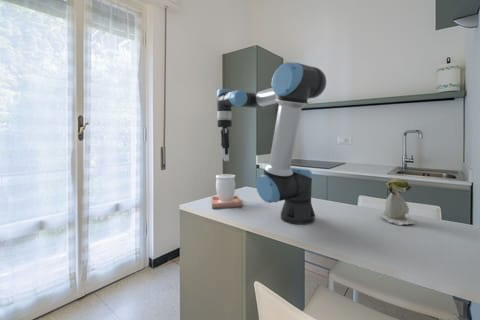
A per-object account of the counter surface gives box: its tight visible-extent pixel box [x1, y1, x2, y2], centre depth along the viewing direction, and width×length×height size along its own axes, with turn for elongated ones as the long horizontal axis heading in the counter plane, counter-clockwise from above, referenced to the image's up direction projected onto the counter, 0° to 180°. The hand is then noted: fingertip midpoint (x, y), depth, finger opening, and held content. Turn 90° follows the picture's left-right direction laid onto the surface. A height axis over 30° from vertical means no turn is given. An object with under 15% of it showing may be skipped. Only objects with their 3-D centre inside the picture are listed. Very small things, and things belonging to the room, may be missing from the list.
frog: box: [380, 178, 416, 227], centre depth 108 cm, size 12×13×18 cm
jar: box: [215, 173, 236, 203], centre depth 136 cm, size 11×10×15 cm
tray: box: [210, 194, 243, 210], centre depth 137 cm, size 15×16×2 cm
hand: (225, 159), depth 134 cm, fingers open, 13 cm apart
